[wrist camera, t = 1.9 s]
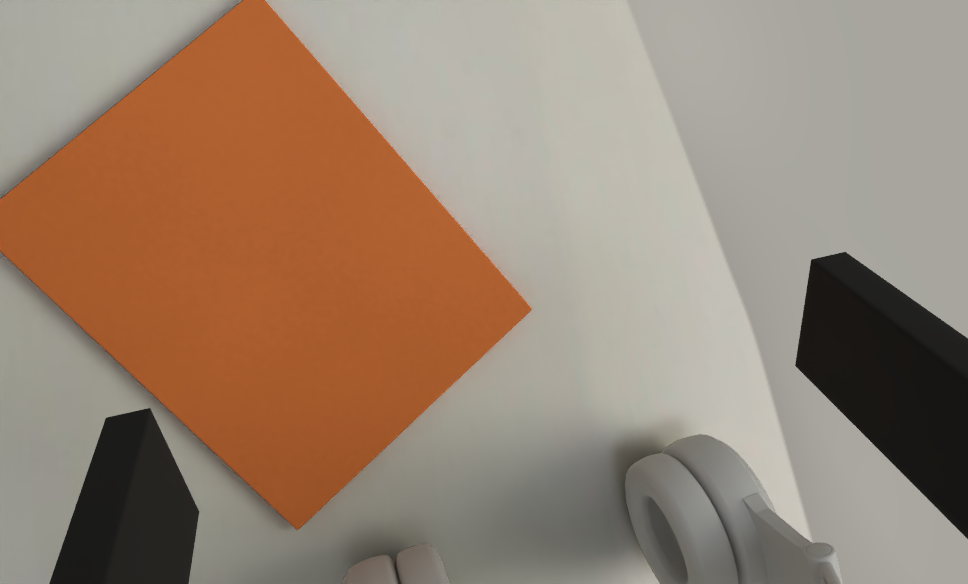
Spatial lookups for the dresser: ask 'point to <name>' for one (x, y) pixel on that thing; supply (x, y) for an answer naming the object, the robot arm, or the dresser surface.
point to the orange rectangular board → (260, 261)
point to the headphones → (678, 527)
